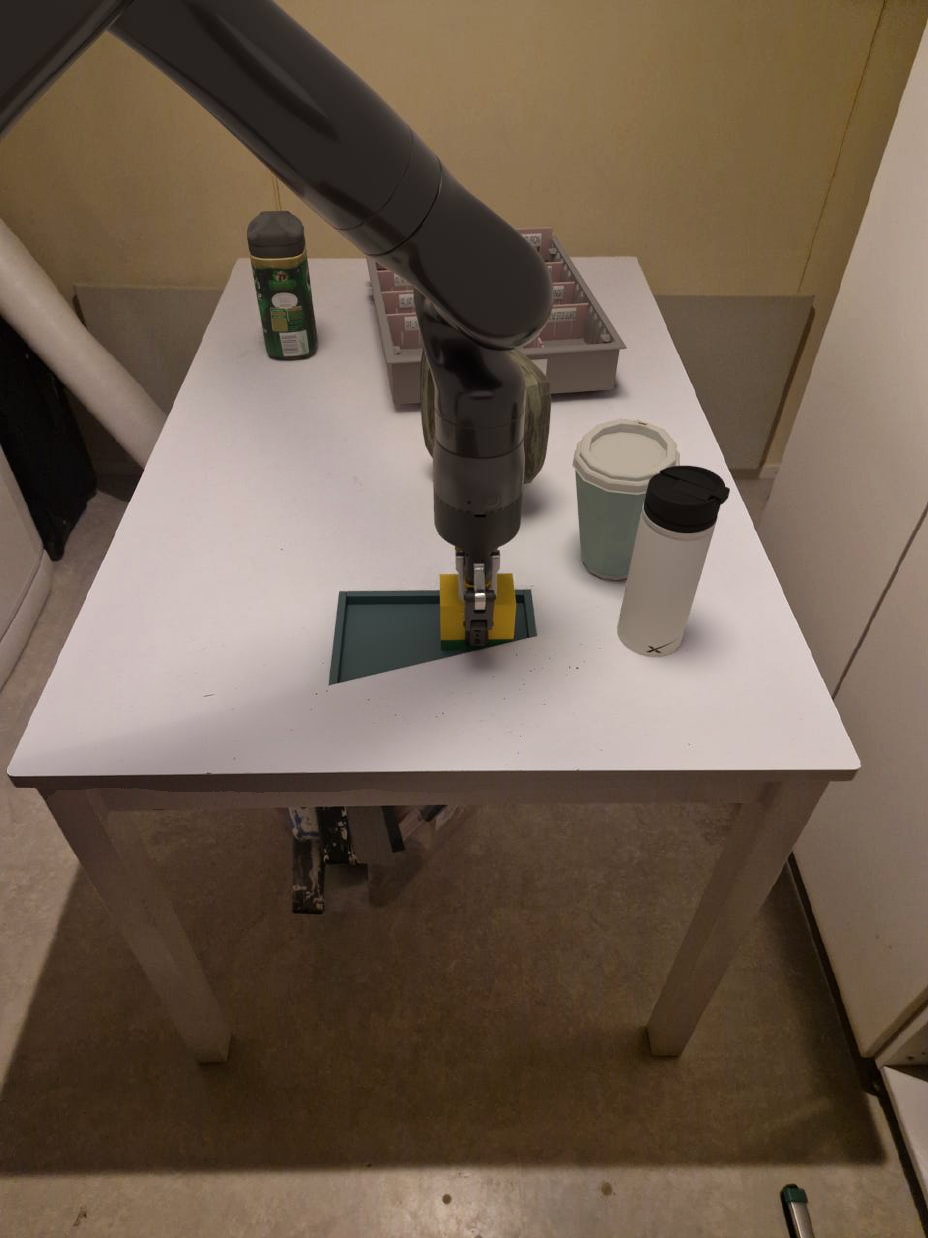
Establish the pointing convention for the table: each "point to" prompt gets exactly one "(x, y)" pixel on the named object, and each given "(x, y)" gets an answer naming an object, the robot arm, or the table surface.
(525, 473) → the tabletop clock
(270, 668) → the table surface
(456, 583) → the sponge
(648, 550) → the travel mug
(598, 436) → the disposable coffee cup
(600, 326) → the organizer tray
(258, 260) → the coffee jar
